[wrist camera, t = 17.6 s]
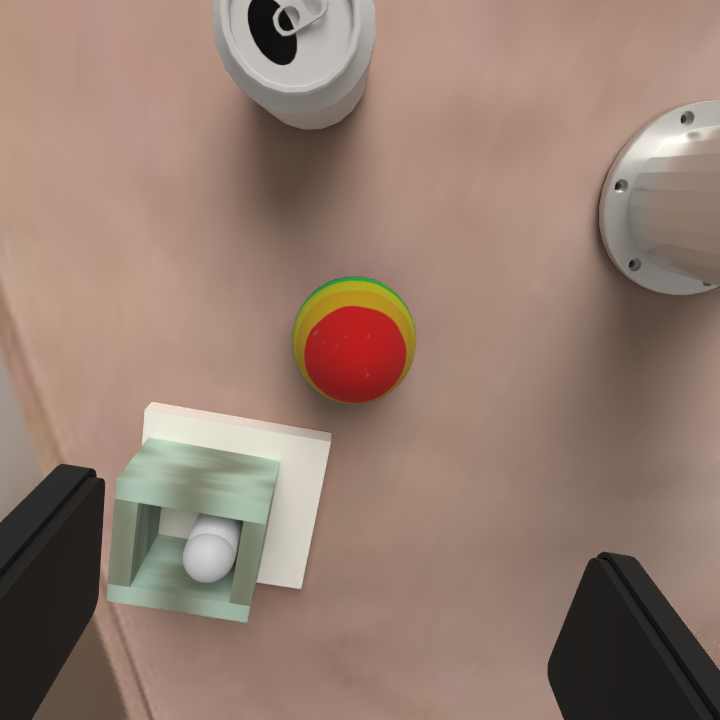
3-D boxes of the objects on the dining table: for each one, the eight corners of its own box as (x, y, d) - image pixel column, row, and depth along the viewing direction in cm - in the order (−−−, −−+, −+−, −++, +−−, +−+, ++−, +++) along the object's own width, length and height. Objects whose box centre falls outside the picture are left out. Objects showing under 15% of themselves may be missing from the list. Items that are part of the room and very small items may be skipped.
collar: (280, 460, 42) (269, 505, 36) (260, 566, 45) (247, 622, 39) (148, 437, 41) (116, 479, 35) (137, 546, 44) (106, 600, 38)
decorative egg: (366, 395, 42) (371, 459, 32) (276, 336, 40) (254, 385, 31) (431, 311, 40) (457, 353, 30) (340, 245, 38) (336, 268, 29)
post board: (331, 433, 43) (326, 499, 34) (302, 576, 47) (291, 667, 38) (152, 401, 42) (99, 461, 33) (138, 551, 46) (89, 640, 37)
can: (227, 41, 34) (166, -27, 23) (331, -27, 33) (321, -133, 22) (290, 153, 36) (262, 142, 25) (389, 93, 35) (408, 53, 24)
